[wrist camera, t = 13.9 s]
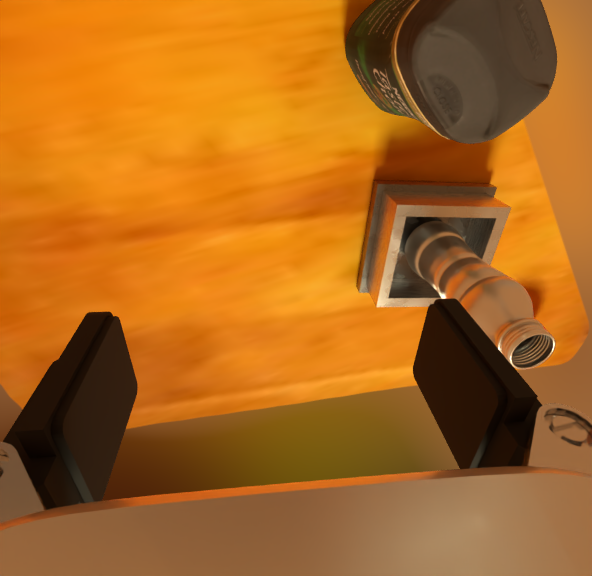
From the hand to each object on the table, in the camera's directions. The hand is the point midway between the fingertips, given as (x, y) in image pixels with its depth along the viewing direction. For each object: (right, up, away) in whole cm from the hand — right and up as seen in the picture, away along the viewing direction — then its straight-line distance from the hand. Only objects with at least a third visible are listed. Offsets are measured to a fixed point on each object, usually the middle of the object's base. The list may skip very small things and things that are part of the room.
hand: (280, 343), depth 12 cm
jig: (+16, +8, +35) cm, 40 cm away
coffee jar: (+10, +24, +25) cm, 36 cm away
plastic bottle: (+16, +7, +34) cm, 39 cm away
